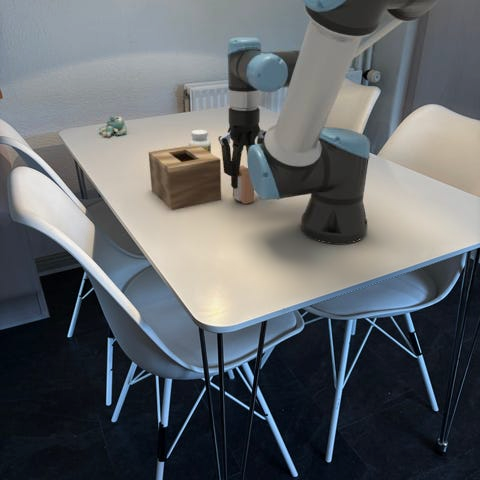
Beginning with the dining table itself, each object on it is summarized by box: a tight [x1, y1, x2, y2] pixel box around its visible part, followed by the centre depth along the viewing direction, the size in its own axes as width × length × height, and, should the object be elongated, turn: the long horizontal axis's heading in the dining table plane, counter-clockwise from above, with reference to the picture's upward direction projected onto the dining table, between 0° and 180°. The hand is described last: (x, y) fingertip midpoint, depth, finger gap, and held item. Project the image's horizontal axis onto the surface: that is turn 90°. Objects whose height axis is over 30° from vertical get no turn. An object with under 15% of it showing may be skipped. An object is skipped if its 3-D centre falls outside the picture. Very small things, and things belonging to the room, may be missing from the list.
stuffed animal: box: [98, 115, 128, 137], centre depth 182 cm, size 11×7×12 cm
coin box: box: [148, 145, 222, 211], centre depth 130 cm, size 14×14×11 cm
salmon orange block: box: [232, 165, 255, 205], centre depth 128 cm, size 6×3×8 cm, turn 30°
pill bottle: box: [188, 129, 212, 154], centre depth 148 cm, size 6×6×12 cm
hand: (243, 197), depth 130 cm, fingers closed on salmon orange block, 3 cm apart
